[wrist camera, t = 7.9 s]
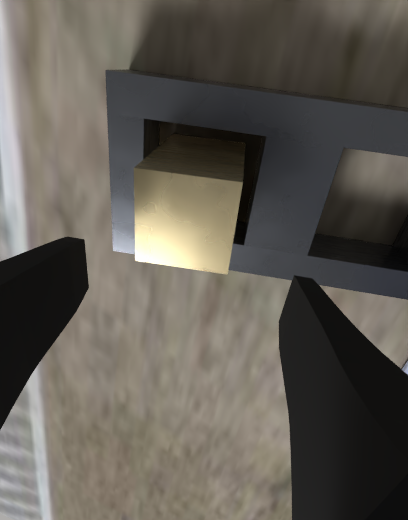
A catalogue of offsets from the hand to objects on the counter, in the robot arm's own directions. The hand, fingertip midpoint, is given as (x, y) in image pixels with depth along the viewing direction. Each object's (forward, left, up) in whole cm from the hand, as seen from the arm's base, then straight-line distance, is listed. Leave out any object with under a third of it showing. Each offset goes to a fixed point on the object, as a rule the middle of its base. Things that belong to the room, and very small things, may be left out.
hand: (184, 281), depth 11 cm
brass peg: (+1, -1, -9) cm, 9 cm away
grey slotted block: (-4, -1, -9) cm, 10 cm away
